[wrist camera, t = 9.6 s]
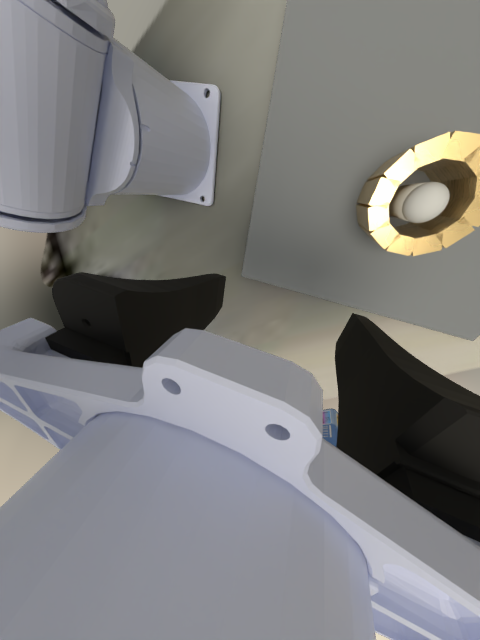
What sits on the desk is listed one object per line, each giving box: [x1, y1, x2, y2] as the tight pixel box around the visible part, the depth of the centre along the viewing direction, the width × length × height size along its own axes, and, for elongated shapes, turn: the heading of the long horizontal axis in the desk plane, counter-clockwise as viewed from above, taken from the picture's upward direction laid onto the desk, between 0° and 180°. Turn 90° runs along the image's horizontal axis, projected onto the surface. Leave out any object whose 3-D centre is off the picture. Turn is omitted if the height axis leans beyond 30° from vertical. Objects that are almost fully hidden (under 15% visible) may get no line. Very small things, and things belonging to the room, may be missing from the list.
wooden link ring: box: [356, 131, 480, 256], centre depth 13 cm, size 6×6×5 cm
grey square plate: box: [241, 0, 480, 341], centre depth 13 cm, size 22×18×6 cm
